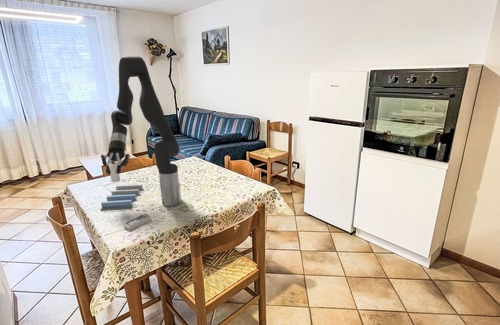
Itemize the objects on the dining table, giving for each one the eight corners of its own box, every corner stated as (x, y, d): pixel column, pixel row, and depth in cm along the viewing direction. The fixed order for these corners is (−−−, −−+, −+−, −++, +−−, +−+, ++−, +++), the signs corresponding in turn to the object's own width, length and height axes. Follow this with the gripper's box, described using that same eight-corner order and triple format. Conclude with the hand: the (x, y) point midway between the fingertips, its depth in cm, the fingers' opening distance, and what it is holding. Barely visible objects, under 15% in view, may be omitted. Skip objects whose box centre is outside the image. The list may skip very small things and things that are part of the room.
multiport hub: (123, 228, 117) (123, 223, 116) (145, 217, 125) (144, 213, 125) (130, 231, 114) (129, 226, 114) (151, 220, 123) (150, 215, 123)
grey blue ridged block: (143, 188, 157) (142, 183, 156) (130, 209, 133) (129, 202, 132) (118, 190, 156) (117, 184, 155) (100, 210, 131) (99, 204, 130)
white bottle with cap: (121, 178, 136) (118, 159, 133) (118, 181, 132) (115, 162, 129) (113, 179, 135) (109, 160, 132) (110, 182, 132) (106, 162, 129)
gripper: (100, 140, 134) (94, 170, 126) (130, 139, 136) (125, 169, 128) (106, 147, 141) (100, 177, 133) (134, 146, 143) (130, 176, 135)
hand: (113, 173), depth 131 cm, fingers closed on white bottle with cap, 4 cm apart
